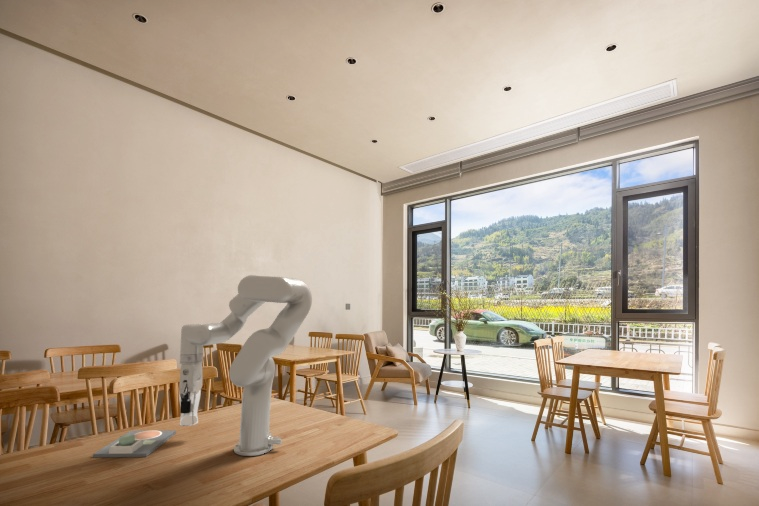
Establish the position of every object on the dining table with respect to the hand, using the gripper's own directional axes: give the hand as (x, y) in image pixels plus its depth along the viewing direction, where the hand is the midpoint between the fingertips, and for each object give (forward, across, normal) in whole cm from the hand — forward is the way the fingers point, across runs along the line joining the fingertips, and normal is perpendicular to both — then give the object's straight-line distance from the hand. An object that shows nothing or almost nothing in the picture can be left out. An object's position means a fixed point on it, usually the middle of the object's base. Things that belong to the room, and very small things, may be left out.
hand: (189, 409), depth 140 cm
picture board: (+10, -3, +16) cm, 19 cm away
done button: (+7, -11, +15) cm, 20 cm away
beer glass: (+5, 0, 0) cm, 5 cm away
